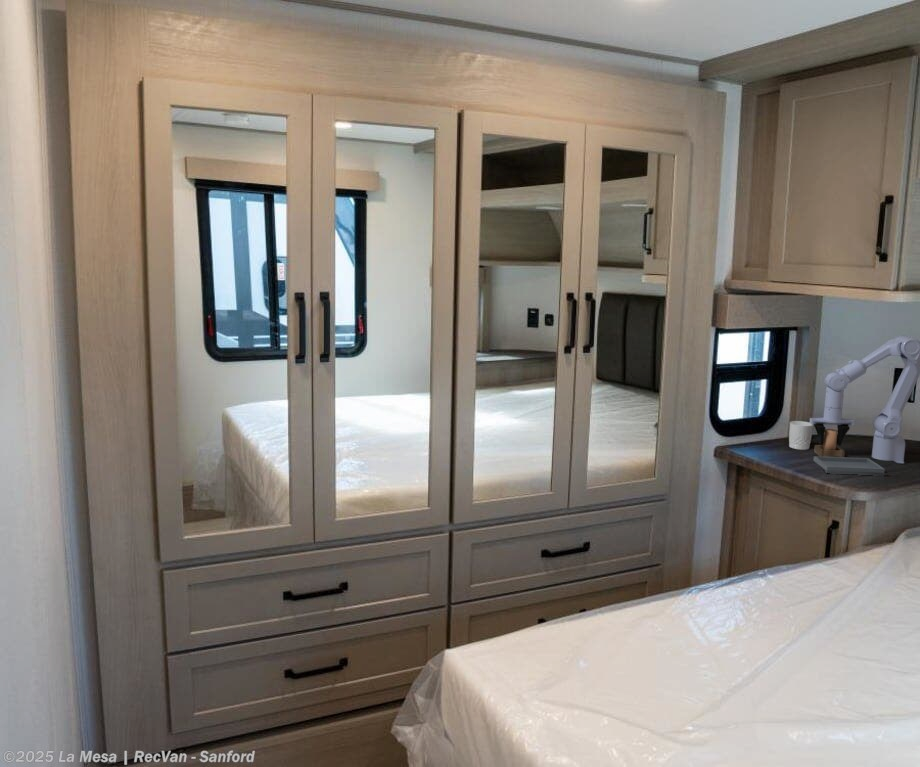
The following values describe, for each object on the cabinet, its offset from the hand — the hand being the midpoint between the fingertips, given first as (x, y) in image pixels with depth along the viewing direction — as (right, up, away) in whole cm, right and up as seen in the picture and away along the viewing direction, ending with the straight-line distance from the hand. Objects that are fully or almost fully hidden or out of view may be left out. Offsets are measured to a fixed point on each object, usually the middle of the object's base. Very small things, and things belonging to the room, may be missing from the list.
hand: (829, 444), depth 271 cm
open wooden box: (0, -5, +1) cm, 5 cm away
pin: (0, -4, +1) cm, 4 cm away
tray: (-1, -7, -14) cm, 16 cm away
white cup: (-6, -3, +11) cm, 13 cm away
